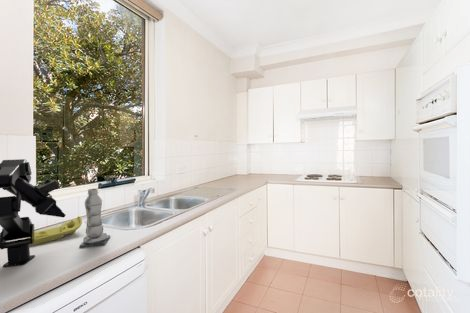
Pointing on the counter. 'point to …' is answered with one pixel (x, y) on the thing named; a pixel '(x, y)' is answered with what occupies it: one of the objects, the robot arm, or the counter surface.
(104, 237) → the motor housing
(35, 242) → the plastic component
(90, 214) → the plastic bottle
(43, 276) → the counter surface
